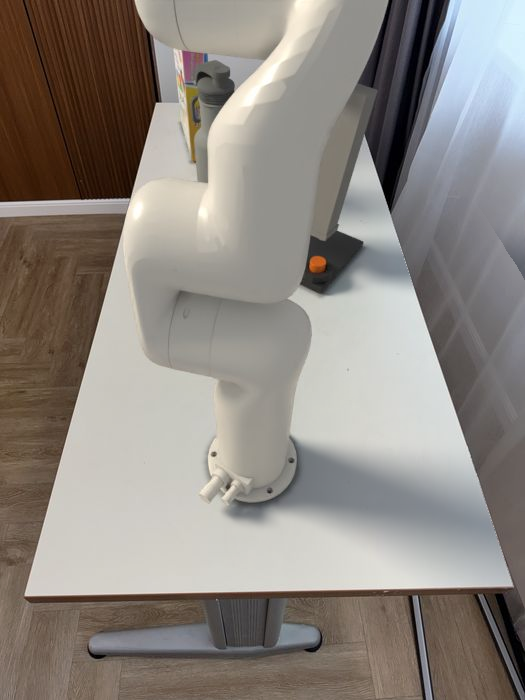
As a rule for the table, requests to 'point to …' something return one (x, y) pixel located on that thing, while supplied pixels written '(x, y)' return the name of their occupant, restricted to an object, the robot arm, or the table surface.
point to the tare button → (317, 264)
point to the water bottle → (208, 106)
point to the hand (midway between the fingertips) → (328, 108)
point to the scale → (329, 259)
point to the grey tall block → (340, 161)
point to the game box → (188, 93)
